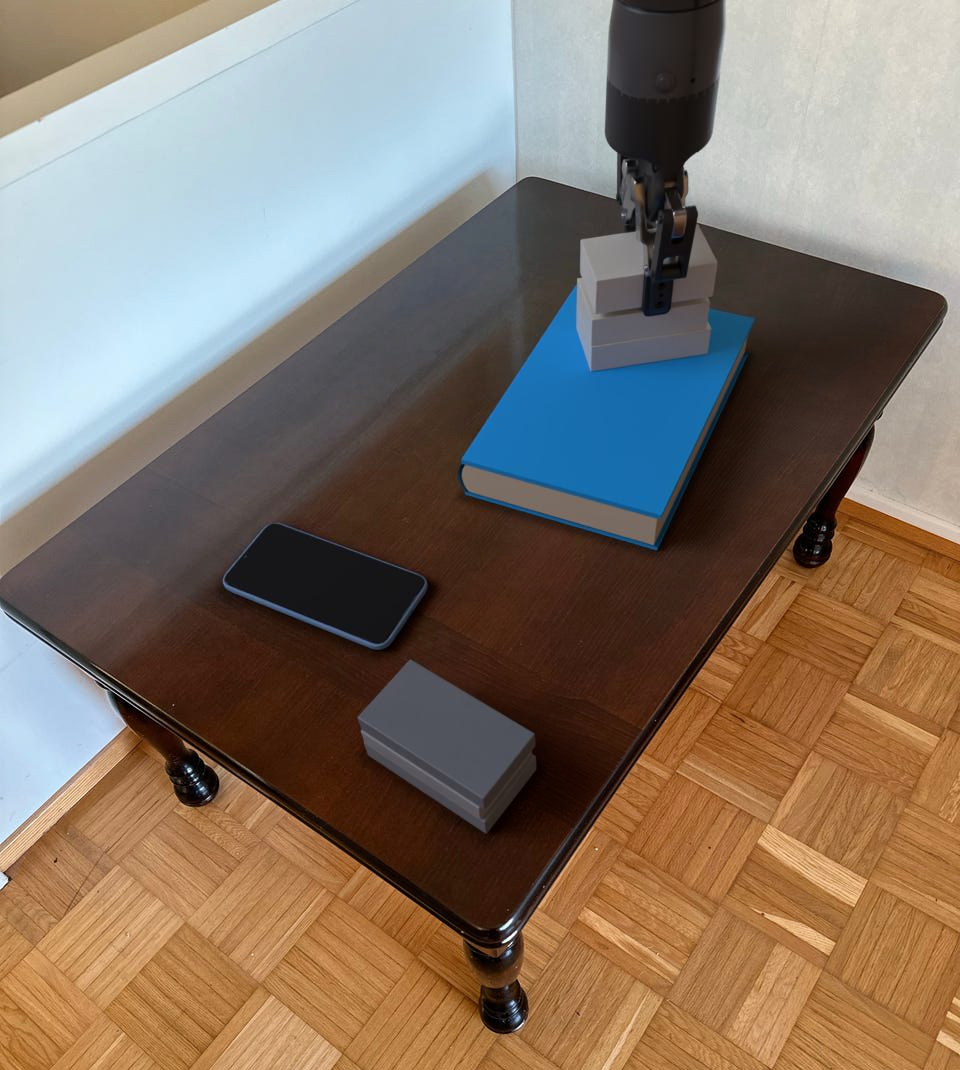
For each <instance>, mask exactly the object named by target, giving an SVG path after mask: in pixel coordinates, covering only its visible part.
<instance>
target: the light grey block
mask: <svg viewBox="0 0 960 1070" xmlns="http://www.w3.org/2000/svg"><path fill="white" fill-rule="evenodd" d="M656 229H657V227H653V229H649V230H648V231H650V230H656ZM653 250H654V246H653ZM579 253H580V254H579V255H580V257H579V259H580V260H579V274H580V276H581V278H582V279H583V282H584V285H585V287H586V290H587V293H588V296H589V298H590V301H591V304H592V307H593V309H594V312H595V314H601V313H607V312H614V311H620V310H627V309H633V308H640V307H641V306H642V294H643V281H644V271H643V265H644V254H643V244H642V243H640V242H639V241H638V240H637V238H636V231H635V232H629V233H624V232H621V233H613V234H609V235H602V236H601V235H600V236H596V237H595V236H594V237H589V238H582V239H580V252H579ZM717 269H718V261H717V258H716V257H715V255H714V253H713V251H712V249H711V247H710V245H709V243H708V241H707V239H706V237H705V235H704V233H703V231H702V229H701V228H700V225H699V224H698V223H697V224H696V229H695V234H694V240H693V245H692V250H691V255H690V261H689V266H688V272H687V276H686V278H682V279H675V280H674V283H673V292H672V301H671V303H673V302H679V301H686V300H692V299H699V298H705V297H708V298H710V297H713V296H714V291H715V284H716V278H717V277H716V276H717Z"/></svg>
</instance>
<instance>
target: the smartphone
mask: <svg viewBox="0 0 960 1070" xmlns="http://www.w3.org/2000/svg"><path fill="white" fill-rule="evenodd" d="M222 584H223V586H224V588H225V589H226V590H227V591H229V592H230V593H232V594H234V595H238V596H240V597H243V598H245V599H248V600H249V601H252V602H255V603H257V604H260V605H263V606H264V607H267V608H270V609H273V610H275V611H278V612H279V613H282V614H285V615H287V616H290V617H292V618H295V619H297V620H299V621H301V622H304V623H307V624H310V625H312V626H315V627H317V628H319V629H322V630H324V631H327V632H330V633H332V634H334V635H337V636H340V637H342V638H344V639H347V640H349V641H352V642H354V643H356V644H359V645H361V646H364V647H367V648H369V649H372V650H376V651H377V650H378V651H381V650H385V649H386V648H388V647H390V645H391V644H392V643H393V641H394V640H395V639H396V637H397V636H398V634H399V633H400V631H401V630H402V629H403V627H404V625H405V624H406V622H407V621H408V620H409V619H410V616H411V615H412V613H413V612H414V610H416V607H417V606H418V605H419V603H420V602H421V600H422V599H423V597H424V596H425V595H426V593H427V591H428V581H427V579H426V578H425V577H424V576H423V575H421V574H420V573H416V572H414V571H411V570H409V569H406V568H403V567H401V566H397V565H395V564H392V563H390V562H388V561H387V562H386V561H384V560H381V559H378V558H376V557H374V556H370V555H367V554H365V553H363V552H360V551H356V550H354V549H351V548H349V547H346V546H343V545H341V544H338V543H335V542H332V541H331V540H327V539H324V538H322V537H319V536H316V535H313V534H311V533H308V532H305V531H302V530H301V529H297V528H294V527H292V526H289V525H286V524H283V523H280V522H272V523H269V524H267V525H266V526H265V527H264V528H263V529H261V531H260V532H259V533H258V534H257V535H256V537H255V538H254V539H253V540H252V541H251V543H250V544H249V545H248V546H247V547H246V548H245V549H244V550H243V552H242V554H241V555H240V556H239V557H238V558H237V559H236V560H235V561H234V563H233V564H232V565H231V566H230V567H229V569H228V570H227V571H226V572H225V574H224V575H223V578H222Z"/></svg>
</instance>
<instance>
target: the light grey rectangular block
mask: <svg viewBox="0 0 960 1070" xmlns="http://www.w3.org/2000/svg"><path fill="white" fill-rule="evenodd" d="M576 285H577V323H576V328H577V331H578V335H579V338H580V341H581V344H582V347H583V350H584V353H585V356H586V359H587V362H588V365H589V368H590V371H598V370H604V369H611V368H617V367H624V366H630V365H637V364H644V363H650V362H657V361H663V360H670V359H676V358H683V357H690V356H696V355H703V354H707V353H708V347H709V341H710V334H711V327H710V325H709V323H708V321H707V320H708V313H709V309H710V308H711V307H710V306H711V300H710V299H709V297H705V298H699V299H692V300H686V301H679V302H673V303H671V309H670V311H669V312H668V313H666V314H663V315H656V316H650V317H647V316H645V315H644V314H643V311H642V309H641V307H640V308H633V309H627V310H620V311H614V312H607V313H601V314H595V312H594V309H593V307H592V304H591V301H590V298H589V296H588V293H587V290H586V287H585V285H584V282H583V279H582V277H577V280H576Z"/></svg>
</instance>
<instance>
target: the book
mask: <svg viewBox="0 0 960 1070" xmlns="http://www.w3.org/2000/svg"><path fill="white" fill-rule="evenodd" d="M755 320H756V318H755V317H751V316H746V315H741V314H736V313H731V312H726V311H721V310H718V309H713V308H709V313H708V320H707V321H708V323H709V325H710V327H711V334H710V341H709V347H708V353H707V354H703V355H696V356H690V357H683V358H676V359H670V360H663V361H657V362H650V363H644V364H637V365H630V366H624V367H617V368H611V369H604V370H598V371H590V368H589V365H588V362H587V359H586V356H585V353H584V350H583V347H582V344H581V341H580V338H579V335H578V331H577V328H576V323H577V284H576V285H575V286H574V287H573V289H572V290H571V292H570V294H569V295H568V296H567V298H566V300H565V301H564V303H563V304H562V306H561V307H560V309H559V310H558V312H557V314H556V315H555V316H554V318H553V319H552V321H551V323H549V326H548V327H547V329H546V330H545V331H544V333H543V334H542V336H541V338H540V339H539V341H538V342H537V344H536V345H535V347H534V348H533V350H532V352H531V353H530V355H529V356H528V357H527V359H526V361H525V362H524V364H523V365H522V367H521V368H520V370H519V371H518V373H517V374H516V376H515V377H514V379H513V380H512V381H511V384H509V386H508V387H507V389H506V391H505V392H504V393H503V396H502V397H501V399H500V400H499V402H498V403H497V404H496V406H495V408H494V409H493V410H492V412H491V413H490V415H489V417H488V418H487V420H486V421H485V423H484V424H483V426H482V427H481V429H480V431H478V433H477V435H476V436H475V438H474V439H473V441H472V442H471V443H470V446H469V447H468V448H467V449H466V452H465V453H464V455H463V456H462V458H461V460H460V461H461V464H459V467H458V470H457V479H458V482H459V485H460V486H461V488H462V490H463V491H464V495H465V496H469V497H472V498H475V499H479V500H483V501H486V502H489V503H493V504H496V505H499V506H503V507H507V508H510V509H513V510H517V511H520V512H524V513H527V514H531V515H534V516H537V517H539V518H544V519H547V520H551V521H554V522H558V523H561V524H565V525H567V526H571V527H574V528H578V529H582V530H585V531H589V532H593V533H596V534H600V535H602V536H606V537H610V538H613V539H616V540H620V541H623V542H626V543H630V544H633V545H637V546H641V547H644V548H648V549H650V550H654V551H658V549H659V547H660V545H661V543H662V540H663V539H664V536H665V534H666V532H667V530H668V527H669V526H670V523H671V521H672V519H673V517H674V514H675V513H676V510H677V508H678V506H679V504H680V502H681V500H682V498H683V495H684V493H685V491H686V489H687V487H688V484H689V483H690V480H691V478H692V476H693V474H694V471H695V470H696V468H697V465H698V463H699V461H700V459H701V457H702V455H703V452H704V451H705V448H706V446H707V443H708V441H709V440H710V437H711V435H712V434H713V431H714V430H715V427H716V424H717V423H718V420H719V418H720V416H721V414H722V411H723V410H724V407H725V405H726V403H727V401H728V398H729V397H730V394H731V393H732V390H733V388H734V387H735V384H736V381H737V379H738V378H739V375H740V373H741V370H742V368H743V366H744V364H745V362H746V361H747V358H748V356H749V352H748V351H746V348H747V341H748V338H749V337H748V336H749V334H750V332H751V330H752V328H753V326H754V324H755Z"/></svg>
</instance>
